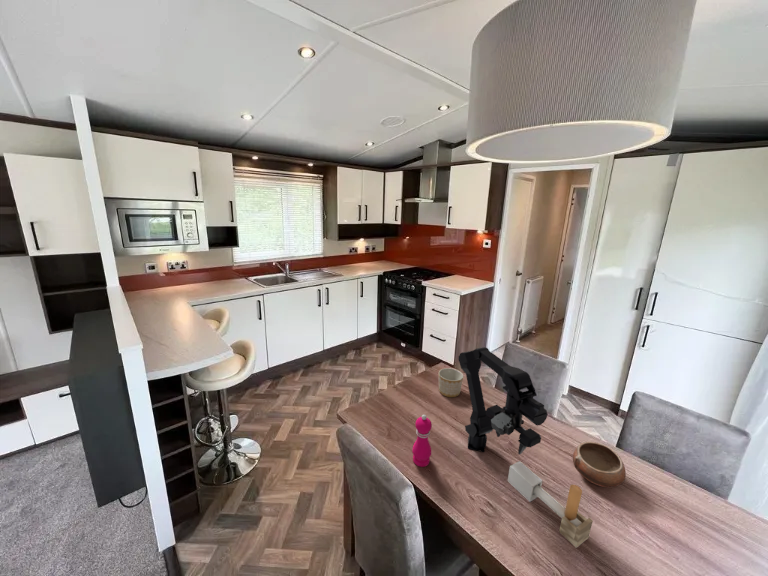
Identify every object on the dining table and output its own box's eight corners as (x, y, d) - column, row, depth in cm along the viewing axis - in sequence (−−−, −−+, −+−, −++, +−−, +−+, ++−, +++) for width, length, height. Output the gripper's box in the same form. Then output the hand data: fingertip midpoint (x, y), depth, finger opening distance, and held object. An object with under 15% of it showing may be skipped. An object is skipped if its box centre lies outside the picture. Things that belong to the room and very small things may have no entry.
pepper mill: (430, 469, 113) (433, 423, 108) (410, 466, 114) (413, 420, 109) (431, 454, 120) (434, 410, 115) (412, 451, 121) (415, 407, 116)
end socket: (559, 531, 92) (562, 514, 90) (571, 522, 95) (575, 505, 93) (576, 548, 88) (580, 530, 86) (588, 537, 90) (592, 520, 89)
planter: (436, 384, 168) (437, 367, 166) (459, 386, 167) (461, 369, 165) (438, 398, 156) (439, 379, 153) (463, 400, 155) (465, 381, 152)
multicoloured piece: (527, 490, 103) (533, 459, 99) (533, 486, 104) (539, 456, 101) (575, 533, 89) (583, 499, 86) (581, 529, 90) (589, 495, 87)
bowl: (563, 472, 113) (567, 449, 111) (580, 453, 122) (585, 431, 120) (613, 504, 101) (619, 479, 99) (628, 480, 110) (634, 457, 108)
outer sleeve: (507, 481, 109) (509, 466, 107) (517, 475, 111) (519, 461, 109) (529, 502, 101) (532, 486, 99) (539, 495, 103) (542, 480, 102)
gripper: (476, 397, 108) (472, 435, 112) (522, 430, 93) (515, 473, 96) (499, 390, 114) (494, 426, 117) (545, 420, 98) (538, 460, 102)
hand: (508, 444), depth 108 cm, fingers open, 9 cm apart
